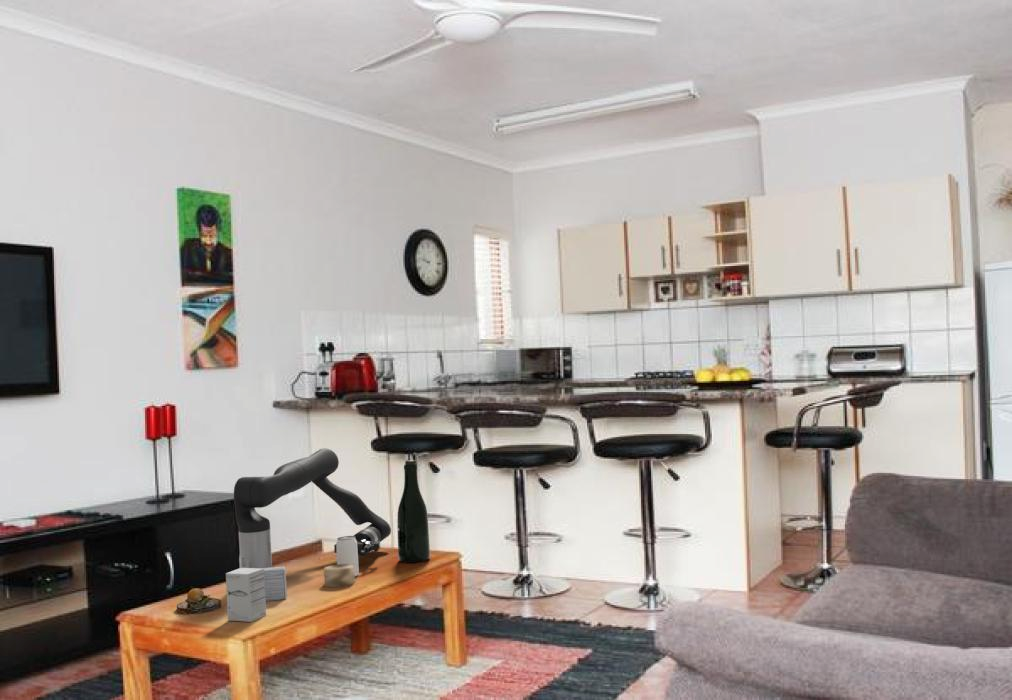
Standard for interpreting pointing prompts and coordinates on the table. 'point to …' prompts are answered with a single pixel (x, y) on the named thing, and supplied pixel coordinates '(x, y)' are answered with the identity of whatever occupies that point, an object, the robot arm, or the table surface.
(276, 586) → the medicine box
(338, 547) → the can
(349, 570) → the grey rounded block
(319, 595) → the table surface
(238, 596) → the supplement box
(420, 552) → the dark green wine bottle
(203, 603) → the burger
